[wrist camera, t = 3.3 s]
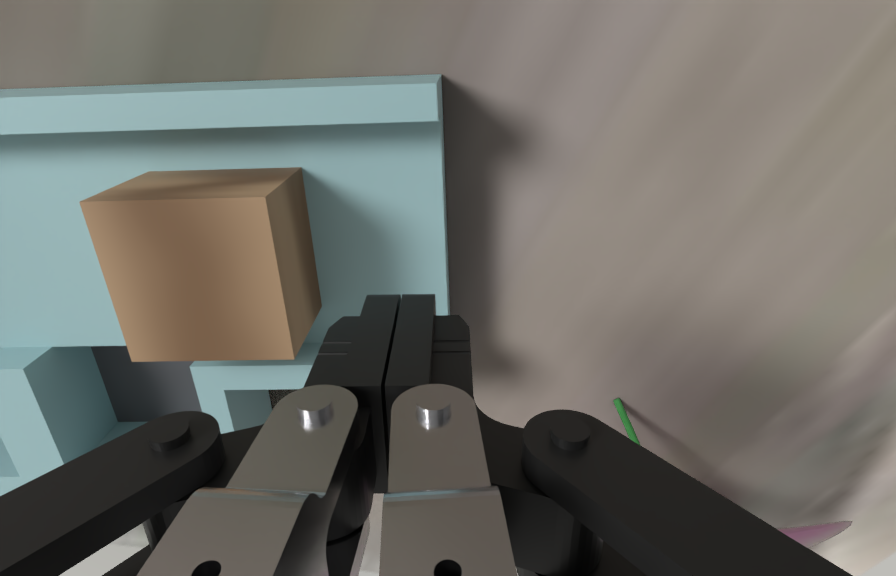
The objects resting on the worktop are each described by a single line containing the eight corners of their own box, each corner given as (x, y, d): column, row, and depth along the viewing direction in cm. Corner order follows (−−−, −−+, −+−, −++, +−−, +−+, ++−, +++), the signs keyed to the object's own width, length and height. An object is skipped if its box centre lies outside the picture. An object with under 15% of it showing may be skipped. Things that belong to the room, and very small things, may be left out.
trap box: (441, 74, 18) (436, 82, 15) (454, 433, 24) (452, 493, 21) (-358, 101, 19) (-521, 115, 16) (-146, 438, 25) (-232, 496, 22)
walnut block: (301, 167, 17) (265, 196, 14) (321, 306, 20) (294, 359, 16) (148, 171, 18) (79, 202, 14) (185, 308, 20) (131, 361, 17)
